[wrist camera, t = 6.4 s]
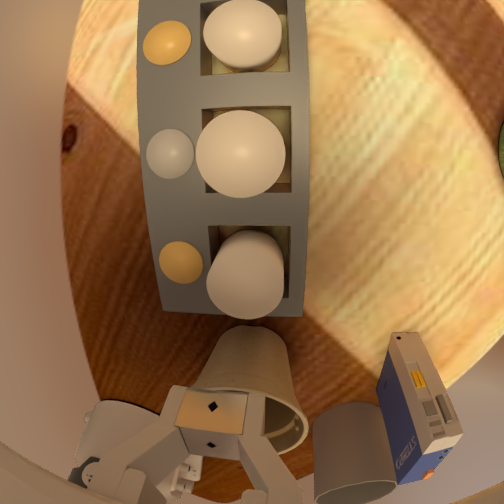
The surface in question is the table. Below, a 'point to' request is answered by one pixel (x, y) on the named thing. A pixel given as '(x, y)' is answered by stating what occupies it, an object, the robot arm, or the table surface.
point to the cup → (352, 455)
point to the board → (185, 141)
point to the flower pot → (258, 380)
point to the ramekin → (501, 149)
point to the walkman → (415, 409)
